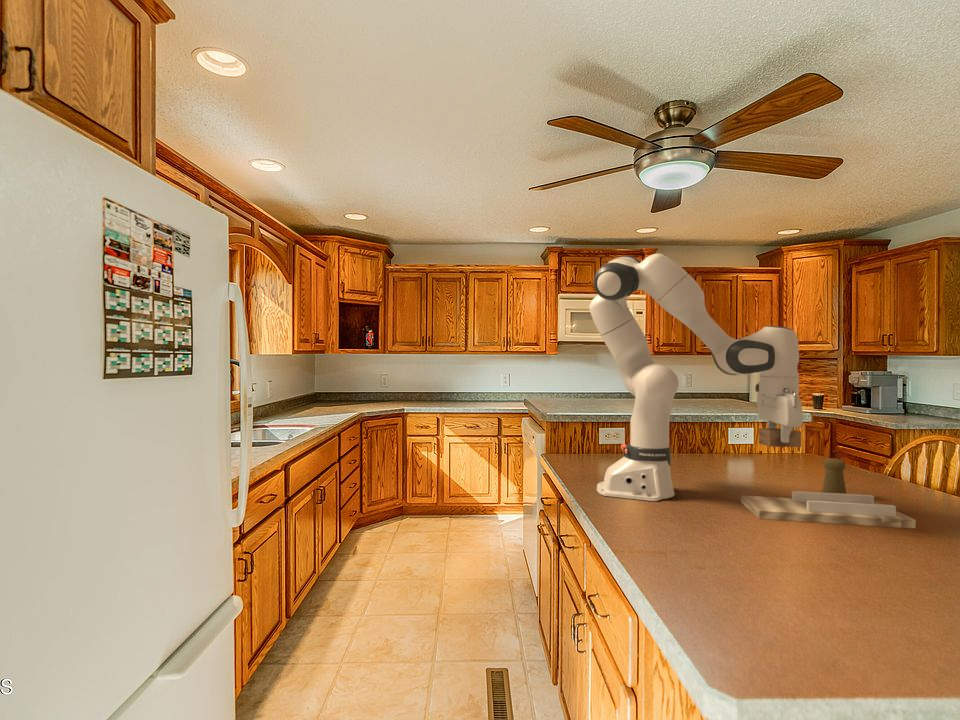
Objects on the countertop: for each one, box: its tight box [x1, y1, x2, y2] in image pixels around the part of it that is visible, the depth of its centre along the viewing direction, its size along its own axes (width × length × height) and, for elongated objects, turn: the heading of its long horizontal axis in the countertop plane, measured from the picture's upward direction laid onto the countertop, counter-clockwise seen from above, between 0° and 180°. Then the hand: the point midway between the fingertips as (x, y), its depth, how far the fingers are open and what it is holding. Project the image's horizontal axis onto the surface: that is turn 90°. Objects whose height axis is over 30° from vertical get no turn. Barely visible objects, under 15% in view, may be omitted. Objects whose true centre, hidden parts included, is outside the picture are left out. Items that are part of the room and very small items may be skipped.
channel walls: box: [791, 490, 897, 517], centre depth 125 cm, size 19×10×2 cm, turn 78°
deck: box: [740, 495, 917, 530], centre depth 126 cm, size 34×14×2 cm, turn 78°
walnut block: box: [758, 427, 802, 448], centre depth 128 cm, size 8×5×4 cm, turn 89°
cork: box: [821, 458, 847, 494], centre depth 143 cm, size 6×6×11 cm
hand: (778, 439), depth 128 cm, fingers closed on walnut block, 5 cm apart
